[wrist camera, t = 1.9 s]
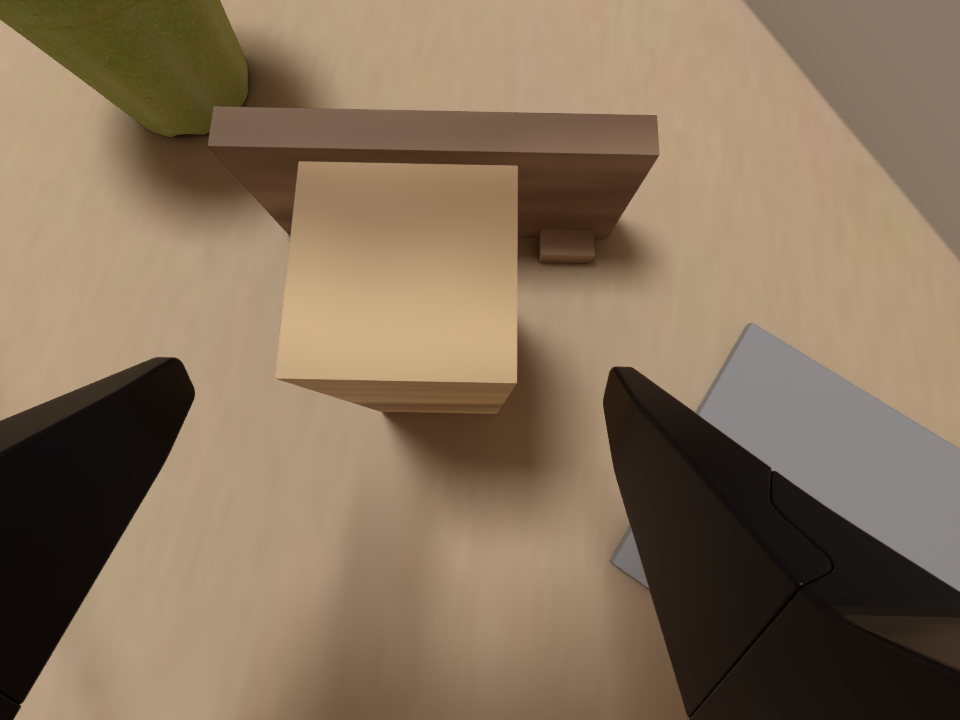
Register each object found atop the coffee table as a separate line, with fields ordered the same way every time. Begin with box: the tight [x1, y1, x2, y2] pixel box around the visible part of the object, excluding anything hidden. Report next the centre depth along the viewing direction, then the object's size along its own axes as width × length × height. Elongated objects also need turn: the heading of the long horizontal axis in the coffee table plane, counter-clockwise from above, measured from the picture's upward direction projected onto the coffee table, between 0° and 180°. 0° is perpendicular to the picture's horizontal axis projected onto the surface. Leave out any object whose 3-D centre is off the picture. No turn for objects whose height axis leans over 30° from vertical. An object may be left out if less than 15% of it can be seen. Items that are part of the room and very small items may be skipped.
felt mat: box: [610, 323, 960, 591], centre depth 18 cm, size 12×12×1 cm
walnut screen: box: [208, 106, 659, 263], centre depth 17 cm, size 4×15×6 cm, turn 89°
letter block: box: [275, 161, 518, 414], centre depth 14 cm, size 5×5×10 cm
